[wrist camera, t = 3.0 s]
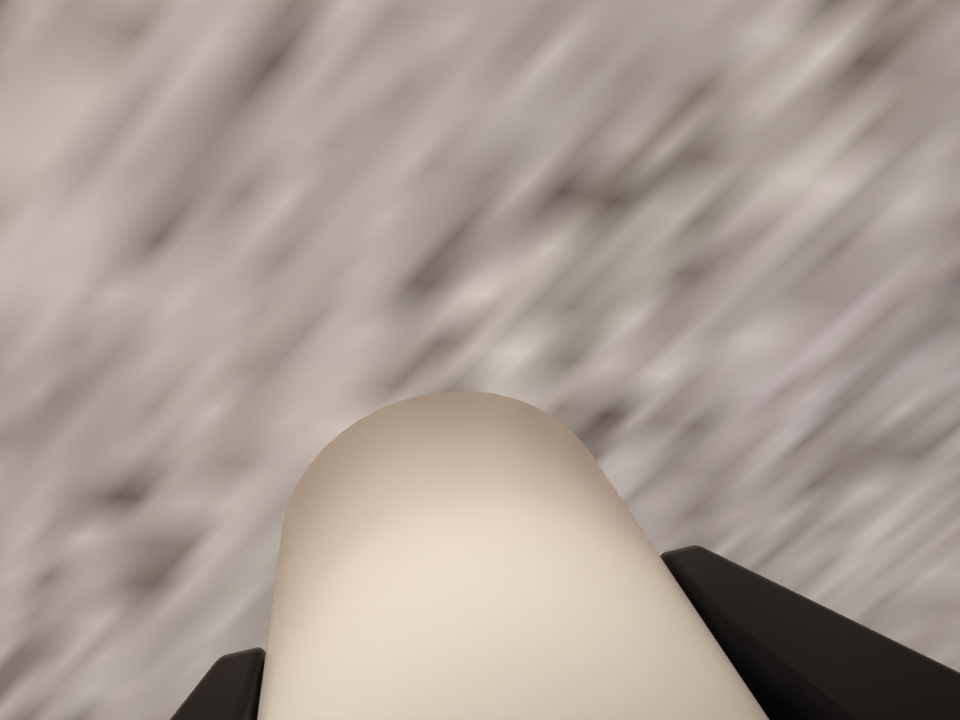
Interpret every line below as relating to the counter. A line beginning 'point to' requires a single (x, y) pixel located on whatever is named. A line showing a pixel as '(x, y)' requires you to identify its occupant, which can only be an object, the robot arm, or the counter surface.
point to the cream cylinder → (479, 582)
